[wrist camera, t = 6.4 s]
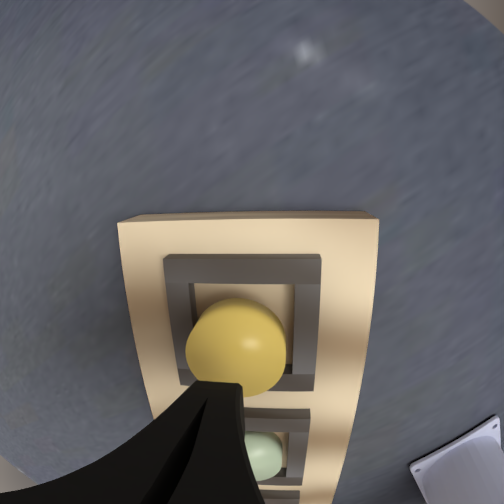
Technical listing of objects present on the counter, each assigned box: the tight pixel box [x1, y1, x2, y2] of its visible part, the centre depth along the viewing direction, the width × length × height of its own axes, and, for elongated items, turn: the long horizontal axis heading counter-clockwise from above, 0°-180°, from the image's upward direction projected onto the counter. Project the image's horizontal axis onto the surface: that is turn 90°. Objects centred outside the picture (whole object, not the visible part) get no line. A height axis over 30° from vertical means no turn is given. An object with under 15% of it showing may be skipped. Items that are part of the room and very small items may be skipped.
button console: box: [117, 211, 379, 504], centre depth 17 cm, size 25×11×3 cm, turn 2°
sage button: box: [244, 431, 283, 481], centre depth 15 cm, size 4×4×1 cm
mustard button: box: [185, 298, 286, 397], centre depth 12 cm, size 4×4×1 cm
